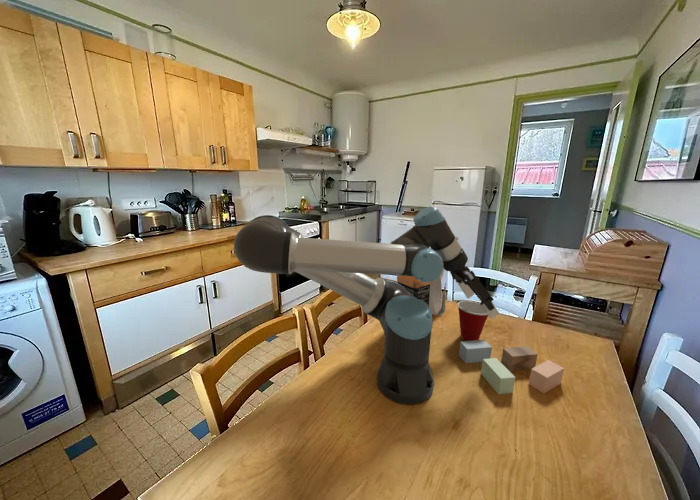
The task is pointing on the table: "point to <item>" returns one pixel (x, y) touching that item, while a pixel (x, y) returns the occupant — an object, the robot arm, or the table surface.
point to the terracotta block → (546, 376)
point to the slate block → (474, 351)
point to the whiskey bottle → (415, 287)
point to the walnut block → (518, 358)
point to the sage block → (498, 376)
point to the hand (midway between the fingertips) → (482, 305)
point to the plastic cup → (471, 319)
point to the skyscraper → (437, 297)
